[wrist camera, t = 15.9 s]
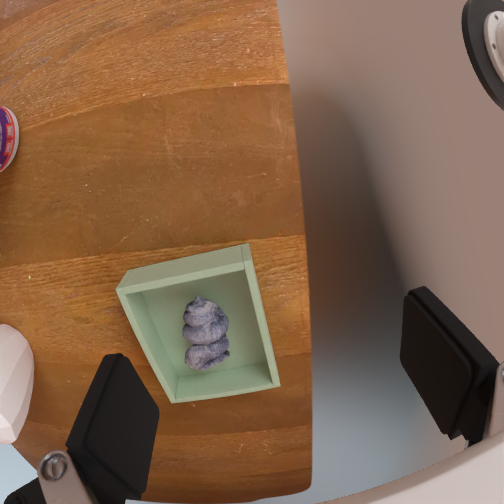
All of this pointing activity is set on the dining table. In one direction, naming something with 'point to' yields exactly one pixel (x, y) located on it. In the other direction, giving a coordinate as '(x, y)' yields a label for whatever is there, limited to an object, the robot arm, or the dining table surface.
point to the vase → (14, 382)
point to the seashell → (205, 334)
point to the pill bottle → (8, 137)
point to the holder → (171, 322)
